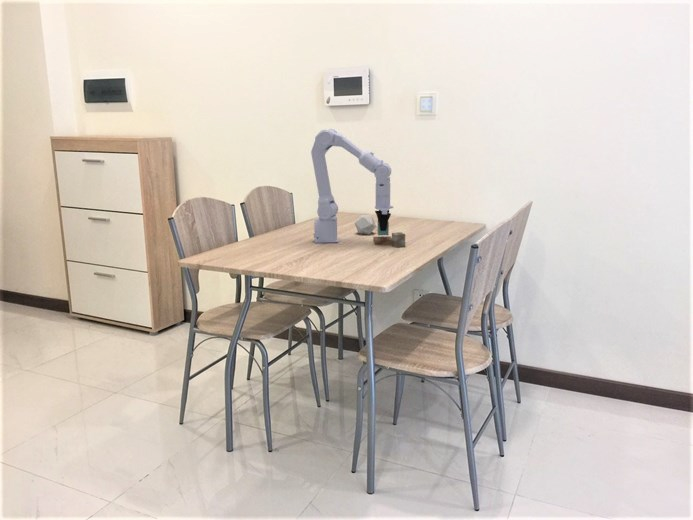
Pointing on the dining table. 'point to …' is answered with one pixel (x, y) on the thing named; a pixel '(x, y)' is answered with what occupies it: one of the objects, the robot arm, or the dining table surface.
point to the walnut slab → (382, 240)
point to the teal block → (383, 231)
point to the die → (365, 224)
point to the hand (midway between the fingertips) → (382, 229)
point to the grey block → (398, 239)
